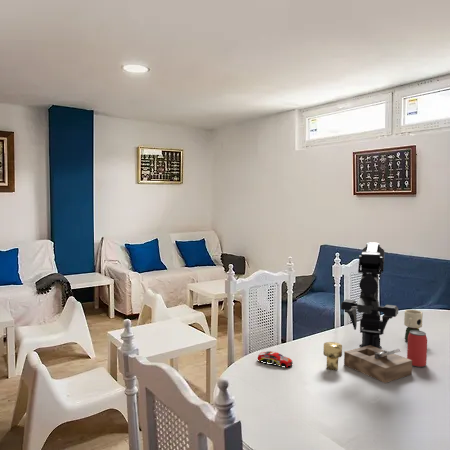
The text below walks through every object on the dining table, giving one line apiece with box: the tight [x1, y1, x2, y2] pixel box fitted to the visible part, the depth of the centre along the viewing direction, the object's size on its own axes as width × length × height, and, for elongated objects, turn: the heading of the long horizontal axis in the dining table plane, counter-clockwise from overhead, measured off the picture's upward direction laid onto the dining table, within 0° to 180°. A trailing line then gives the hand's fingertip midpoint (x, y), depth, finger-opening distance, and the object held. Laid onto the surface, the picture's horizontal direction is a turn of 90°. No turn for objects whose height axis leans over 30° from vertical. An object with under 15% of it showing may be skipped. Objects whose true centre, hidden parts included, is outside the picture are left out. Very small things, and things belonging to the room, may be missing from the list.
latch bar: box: [378, 348, 401, 358], centre depth 149 cm, size 8×3×2 cm, turn 31°
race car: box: [257, 350, 294, 368], centre depth 158 cm, size 13×5×4 cm, turn 60°
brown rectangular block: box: [343, 345, 413, 384], centre depth 153 cm, size 18×14×7 cm
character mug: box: [403, 309, 423, 341], centre depth 185 cm, size 11×7×13 cm, turn 140°
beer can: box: [406, 330, 428, 368], centre depth 159 cm, size 7×7×12 cm
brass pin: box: [322, 341, 343, 371], centre depth 154 cm, size 6×6×8 cm
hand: (368, 331), depth 153 cm, fingers open, 9 cm apart
